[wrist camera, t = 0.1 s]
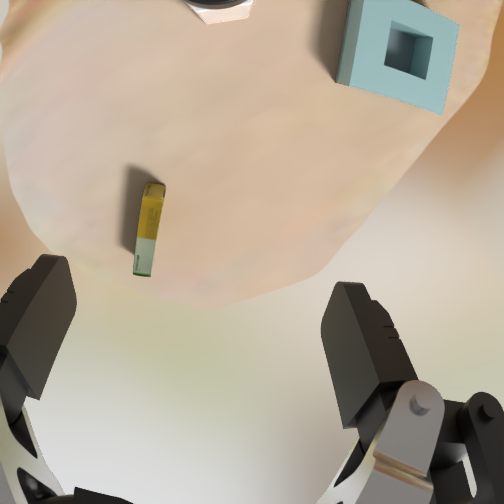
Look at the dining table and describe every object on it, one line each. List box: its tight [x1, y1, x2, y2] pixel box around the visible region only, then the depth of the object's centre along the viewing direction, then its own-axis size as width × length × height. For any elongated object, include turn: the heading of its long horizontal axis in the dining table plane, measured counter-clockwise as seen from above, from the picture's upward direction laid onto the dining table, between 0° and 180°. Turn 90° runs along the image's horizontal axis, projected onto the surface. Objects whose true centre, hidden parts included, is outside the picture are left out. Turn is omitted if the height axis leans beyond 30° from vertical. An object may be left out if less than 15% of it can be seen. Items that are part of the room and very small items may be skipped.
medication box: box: [133, 183, 166, 277], centre depth 40 cm, size 12×3×4 cm, turn 163°
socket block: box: [335, 0, 459, 115], centre depth 28 cm, size 12×12×5 cm
